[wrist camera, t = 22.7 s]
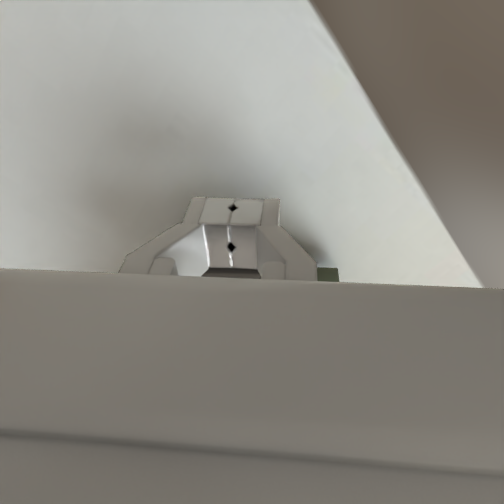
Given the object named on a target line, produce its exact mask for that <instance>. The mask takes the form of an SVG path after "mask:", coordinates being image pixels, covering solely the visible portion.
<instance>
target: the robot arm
mask: <svg viewBox="0 0 504 504" xmlns="http://www.w3.org/2000/svg"><path fill="white" fill-rule="evenodd" d="M208 267H210V268H244V269H258V272H259V273H260V275H261V279H250V278H225V277H201V276H202V275H203V274H204V273H205V272H206V271H207V270H208V269H209V268H208ZM0 504H504V289H493V288H468V287H444V286H420V285H396V284H372V283H348V282H323V281H317V262H316V261H315V260H314V259H313V258H312V257H311V256H310V255H309V254H308V253H307V252H306V251H305V250H304V249H303V248H302V247H301V246H300V245H299V244H298V243H297V242H296V241H295V240H294V239H293V238H292V237H291V236H290V234H289V233H288V232H287V231H286V230H285V229H284V228H283V227H281V226H280V199H279V198H272V199H236V198H216V197H208V198H207V197H193V198H191V201H190V203H189V206H188V208H187V211H186V214H185V216H184V219H183V221H182V224H179V223H178V224H176V225H174V226H173V227H171V228H170V229H168V230H166V231H165V232H163V233H162V234H160V235H158V236H157V237H155V238H154V239H152V240H150V241H149V242H147V243H146V244H144V245H142V246H141V247H139V248H138V249H136V250H134V251H133V252H131V253H130V254H128V255H127V256H126V258H125V260H124V262H123V264H122V266H121V268H120V270H119V272H118V273H103V272H79V271H54V270H30V269H6V268H0Z"/></svg>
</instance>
